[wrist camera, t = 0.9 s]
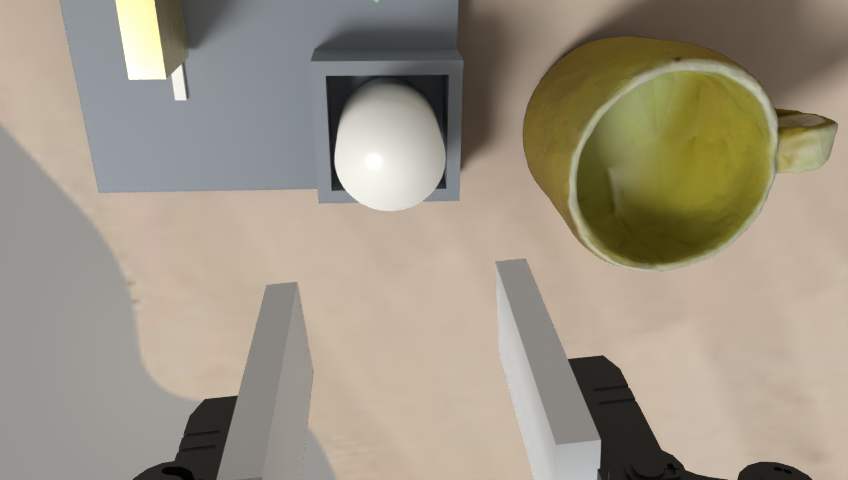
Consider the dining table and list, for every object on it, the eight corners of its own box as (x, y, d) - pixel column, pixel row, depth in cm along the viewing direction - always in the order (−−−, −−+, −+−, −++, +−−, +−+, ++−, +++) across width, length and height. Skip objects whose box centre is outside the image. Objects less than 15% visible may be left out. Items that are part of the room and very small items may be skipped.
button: (336, 78, 32) (331, 106, 28) (437, 77, 32) (446, 105, 28) (341, 172, 34) (337, 212, 30) (435, 171, 34) (444, 209, 30)
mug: (483, 243, 37) (582, 284, 27) (499, 33, 35) (609, -1, 26) (690, 247, 40) (841, 284, 31) (711, 57, 39) (876, 35, 29)
